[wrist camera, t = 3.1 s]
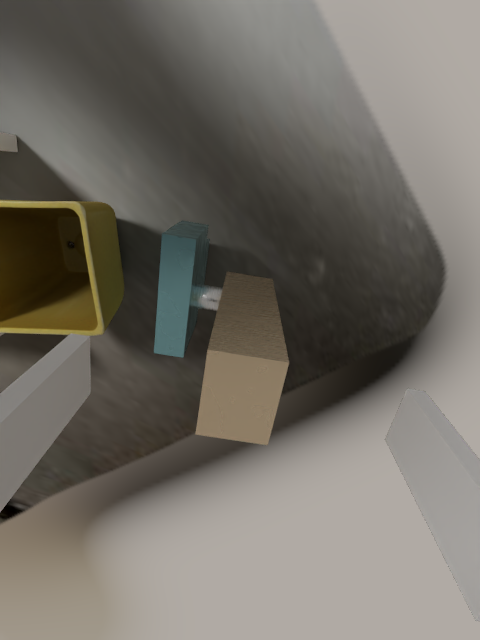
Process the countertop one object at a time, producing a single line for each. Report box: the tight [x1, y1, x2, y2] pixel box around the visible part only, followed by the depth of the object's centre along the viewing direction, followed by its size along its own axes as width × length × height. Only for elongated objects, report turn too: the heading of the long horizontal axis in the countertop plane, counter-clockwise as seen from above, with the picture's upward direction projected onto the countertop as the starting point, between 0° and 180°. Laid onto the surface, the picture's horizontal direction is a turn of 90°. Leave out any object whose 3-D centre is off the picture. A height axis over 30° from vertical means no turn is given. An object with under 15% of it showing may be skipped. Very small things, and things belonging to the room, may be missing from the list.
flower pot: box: [0, 200, 124, 336], centre depth 25 cm, size 9×9×9 cm
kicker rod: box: [154, 221, 289, 445], centre depth 21 cm, size 8×7×18 cm
